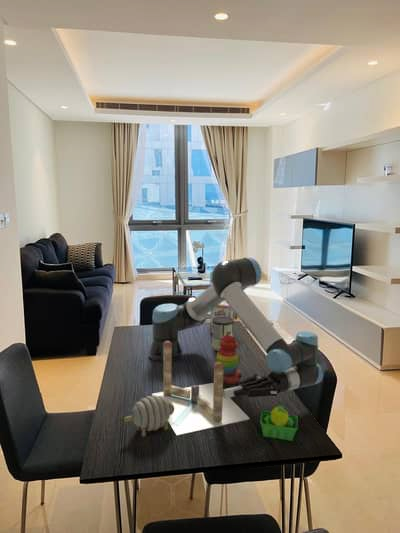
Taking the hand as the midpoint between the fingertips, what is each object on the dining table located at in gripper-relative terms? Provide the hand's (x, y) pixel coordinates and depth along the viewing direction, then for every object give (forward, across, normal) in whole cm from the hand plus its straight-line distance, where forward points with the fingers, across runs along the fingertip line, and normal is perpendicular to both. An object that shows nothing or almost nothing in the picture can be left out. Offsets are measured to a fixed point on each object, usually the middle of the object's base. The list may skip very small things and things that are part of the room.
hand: (224, 394), depth 134 cm
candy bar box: (-40, +76, -10) cm, 87 cm away
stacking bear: (-18, +29, -10) cm, 36 cm away
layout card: (+3, +13, -10) cm, 17 cm away
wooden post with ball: (+7, +21, -10) cm, 24 cm away
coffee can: (-32, +58, -10) cm, 67 cm away
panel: (+2, +7, -9) cm, 12 cm away
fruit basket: (-13, -13, -11) cm, 21 cm away
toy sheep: (+23, +7, -10) cm, 26 cm away
